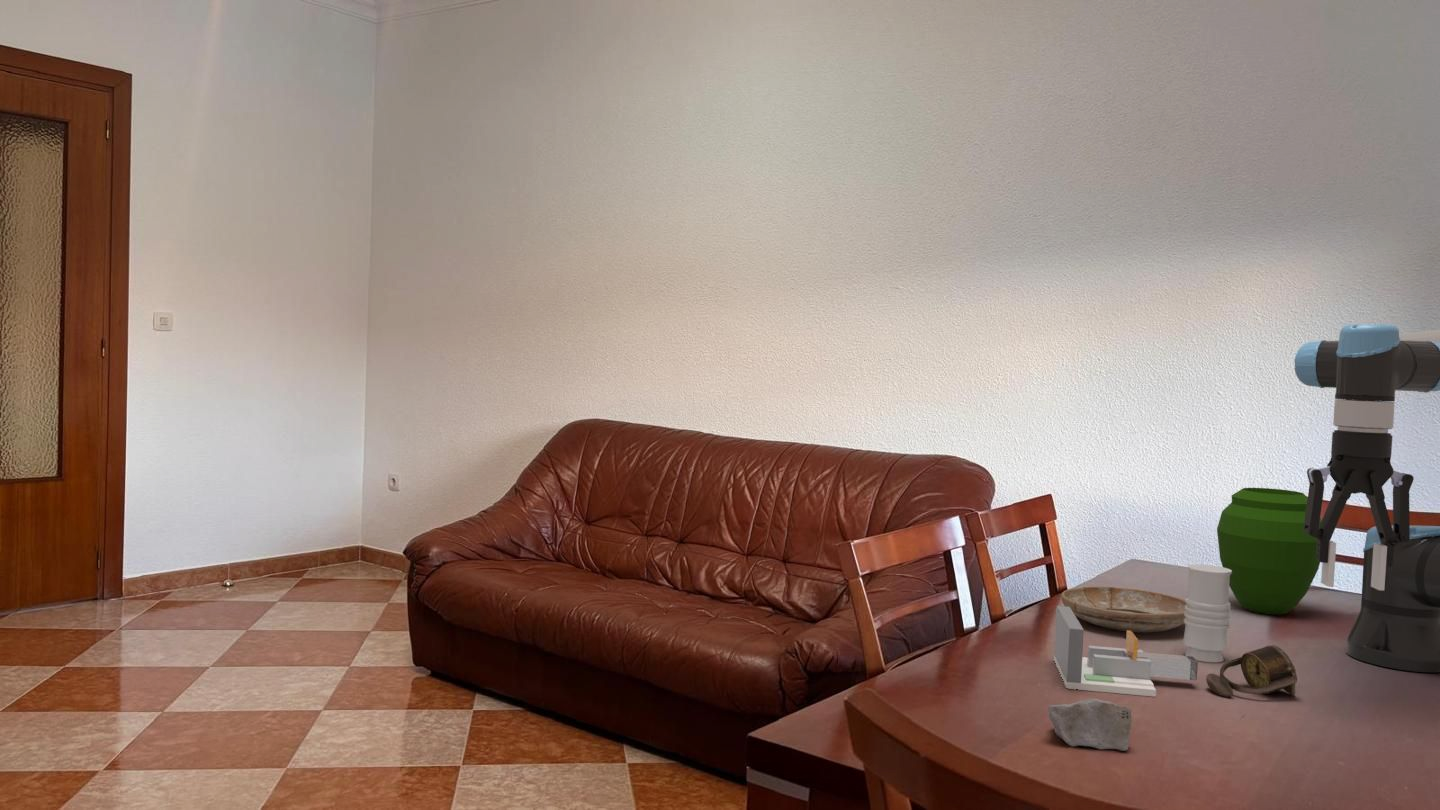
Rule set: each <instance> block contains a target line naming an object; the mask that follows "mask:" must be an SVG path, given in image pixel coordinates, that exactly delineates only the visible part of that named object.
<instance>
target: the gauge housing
mask: <svg viewBox="0 0 1440 810" xmlns="http://www.w3.org/2000/svg"><path fill="white" fill-rule="evenodd" d="M1055 613H1056V615H1055V629H1054V631H1055V634H1054V650H1053V652H1054V653H1053V662H1054V661H1055V662H1054V664H1055V663H1056V664H1055V666H1056V669H1057V668H1058V669H1057V671H1058V670H1059V671H1058V673H1059V672H1060V673H1059V675H1060V674H1061V675H1060V677H1062V678H1061V680H1062V679H1063V680H1062V682H1063V681H1064V682H1063V684H1064V687H1065V688H1068V690H1076V689H1078V690H1077V691H1088V692H1097V693H1098V692H1100V693H1110V694H1121V695H1130V696H1131V695H1132V696H1142V697H1153V698H1156V697H1157V689H1156V688H1155V686H1154V683H1153V681H1152V680H1151V676H1150V673H1151V661H1150V660H1149V659H1143V658H1137V660H1135V659H1132V658H1131V657H1124V651H1127V650H1126V648H1120V647H1110V646H1096V645H1088V646H1087V657H1085V656H1083V652H1084V651H1083V650H1084V633H1085V632H1084V631H1085V630H1084V628H1083V626H1082V625H1081V623H1080V621H1079V620H1078V617H1077V616H1075V615H1074V613H1073V611H1072V610H1071V608H1070V607H1066V606H1064V605H1063V606H1062V605H1056V612H1055ZM1138 652H1144V651H1143V650H1142V649H1138Z"/></svg>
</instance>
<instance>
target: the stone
mask: <svg viewBox="0 0 1440 810" xmlns="http://www.w3.org/2000/svg"><path fill="white" fill-rule="evenodd" d="M1132 716H1133V715H1132V710H1131V709H1130V707H1129V706H1127V705H1119V704H1118V705H1117V704H1116V703H1114V702H1112V701H1109V700H1108V701H1107V700H1102V699H1099V698H1094V697H1090V698H1089V697H1088V698H1087V699H1086V698H1084V699H1081V700H1077V701H1075V702H1073V703H1065V704H1051V705H1050V704H1049V705H1048V717H1049V719H1050V721H1051V723H1052V726H1053V727H1054V733H1055V734H1056V736H1057V737H1059V738H1060V739H1062V741H1064V742H1065V743H1066V745H1068V746H1070V747H1071V748H1074V747H1079V746H1083V747H1092V748H1094V749H1097V750H1117V751H1121V752H1125V751H1128V749H1129V745H1130V744H1129V742H1130V739H1131V727H1132V724H1133V717H1132Z"/></svg>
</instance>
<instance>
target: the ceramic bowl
mask: <svg viewBox="0 0 1440 810" xmlns="http://www.w3.org/2000/svg"><path fill="white" fill-rule="evenodd" d="M1060 597H1061V602H1062V605H1063V606H1066V607H1070V608H1071V610H1072V611H1073V613H1074V615H1075V616H1076V618H1079V619H1081V620H1082V621H1084V622H1086V623H1087V622H1088V623H1090V624H1091V625H1092V624H1093V625H1096V626H1098V627H1104V628H1107V629H1112V630H1118V631H1122V632H1127V630H1131V631H1132V633H1157V632H1158V633H1160V632H1164V631H1165V632H1166V631H1169V630H1172V629H1175V628H1179V627H1180V626H1182V625H1183V624H1185V623H1184V619H1185V618H1186V617H1185V616H1184V613H1185V611H1187V610H1186V609H1185V605H1186V604H1187V603H1186V602H1185V599H1182V598H1179V597H1176V596H1172V595H1168V594H1164V593H1160V592H1154V591H1149V590H1140V589H1134V588H1127V587H1125V588H1124V587H1113V586H1088V587H1087V586H1086V587H1085V586H1083V587H1076V588H1075V587H1074V588H1070V589H1066V590H1064V591H1062V593H1061V596H1060Z"/></svg>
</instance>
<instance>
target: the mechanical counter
mask: <svg viewBox="0 0 1440 810" xmlns="http://www.w3.org/2000/svg"><path fill="white" fill-rule="evenodd" d="M1236 666H1240V667H1241V672H1242V675H1243V677H1244V679H1245V681H1246V683H1247V684H1248V686H1244V685H1240V684H1238V683H1235V682H1232V681H1231V680H1230V679H1228V678H1227V677H1226V676H1225V672H1226V671H1227V669H1229V668H1231V667H1236ZM1296 671H1297V670H1296V668H1295V665H1294V664H1293V661H1292V660H1291V658H1290V657H1289V655H1288V654H1287V653H1286V652H1285V651H1284V649H1282V648H1281V647H1279V646H1277V645H1274V644H1269V645H1266V646H1263V647H1260V648H1257V649H1255V650H1251V651H1248V652H1245V653H1243V654H1242V656H1240V657H1237V658H1233V659H1231V660H1229V661H1226V662H1225V663H1224V664H1223V665H1222V666H1220V670H1219V675H1218V674H1216V673H1208V674H1207V675H1206V678H1205V680H1206V683H1207V686H1208V688H1209V689H1210V690H1211V691H1212V692H1213V694H1215V695H1219V696H1222V697H1228V698H1229V697H1231V696H1233V695H1234V691H1236V692H1239V693H1244V694H1253V695H1255V694H1257V695H1259V694H1261V695H1268V694H1272V693H1274V692H1277V691H1280V690H1283V691H1285V692H1286V693H1288V694H1289V695H1291V696H1293V697H1294V696H1296V684H1297V682H1298V676H1297V672H1296Z"/></svg>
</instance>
